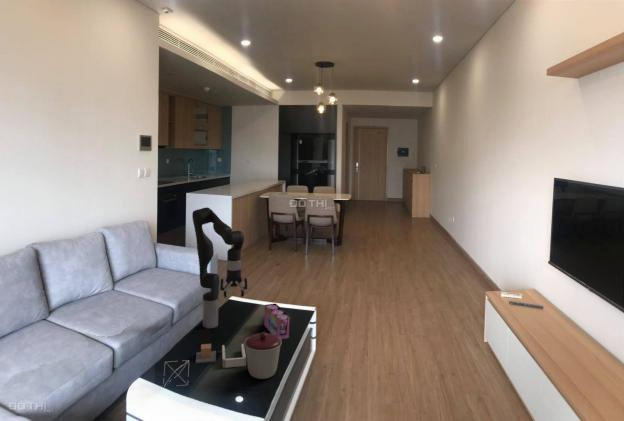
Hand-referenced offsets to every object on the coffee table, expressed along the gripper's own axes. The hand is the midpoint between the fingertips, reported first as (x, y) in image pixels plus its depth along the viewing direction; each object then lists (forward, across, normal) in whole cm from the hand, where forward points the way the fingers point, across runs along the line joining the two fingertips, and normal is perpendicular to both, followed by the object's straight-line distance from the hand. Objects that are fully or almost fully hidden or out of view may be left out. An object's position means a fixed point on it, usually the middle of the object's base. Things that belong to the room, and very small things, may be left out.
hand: (233, 296), depth 217 cm
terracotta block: (+28, -14, -7) cm, 33 cm away
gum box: (+30, +26, +18) cm, 44 cm away
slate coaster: (+29, -14, -8) cm, 34 cm away
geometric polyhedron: (+29, -27, -30) cm, 50 cm away
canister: (+30, +13, -28) cm, 43 cm away
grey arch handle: (+29, 0, -11) cm, 31 cm away
